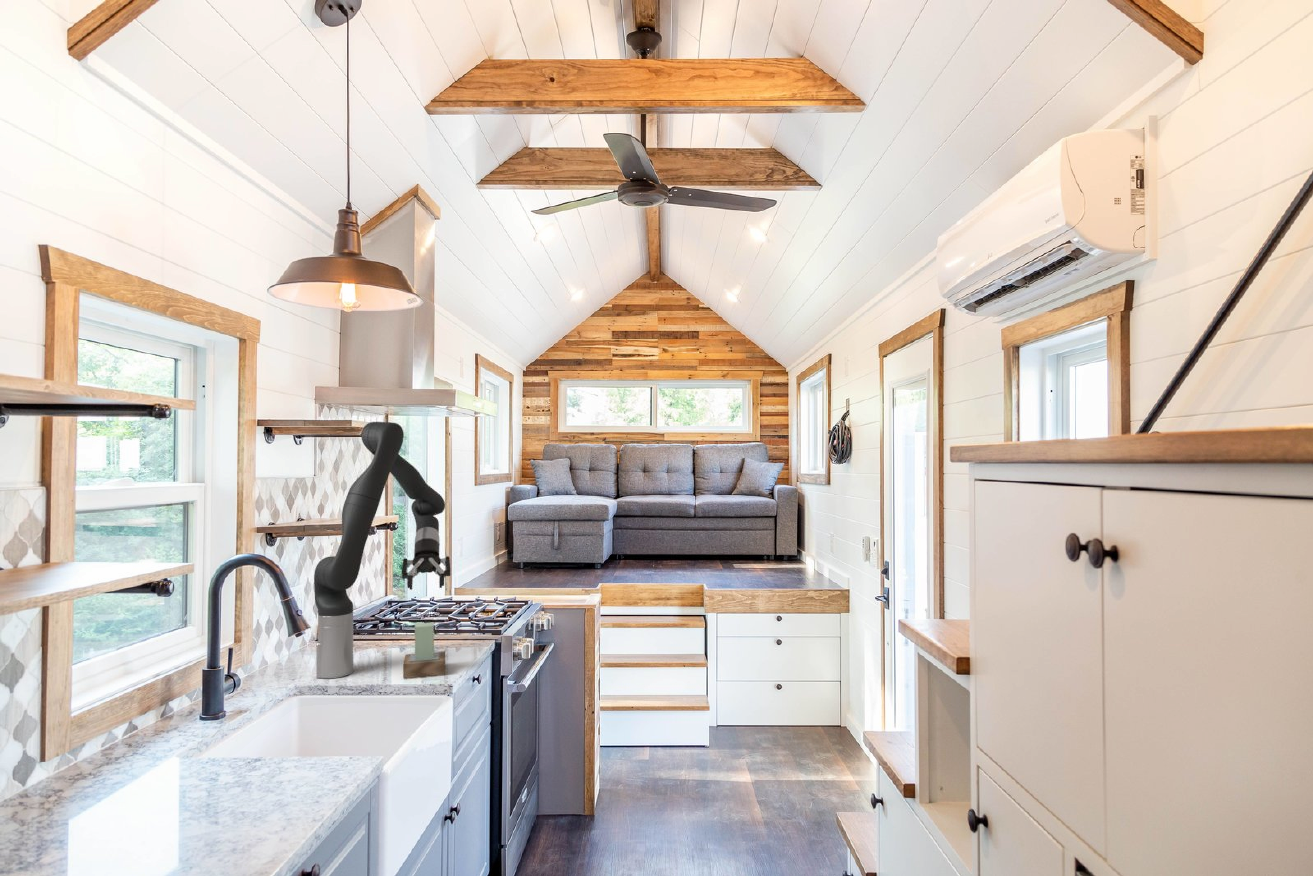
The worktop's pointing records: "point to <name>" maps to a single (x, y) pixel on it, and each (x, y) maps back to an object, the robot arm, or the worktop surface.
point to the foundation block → (424, 666)
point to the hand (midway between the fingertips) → (425, 587)
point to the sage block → (424, 640)
